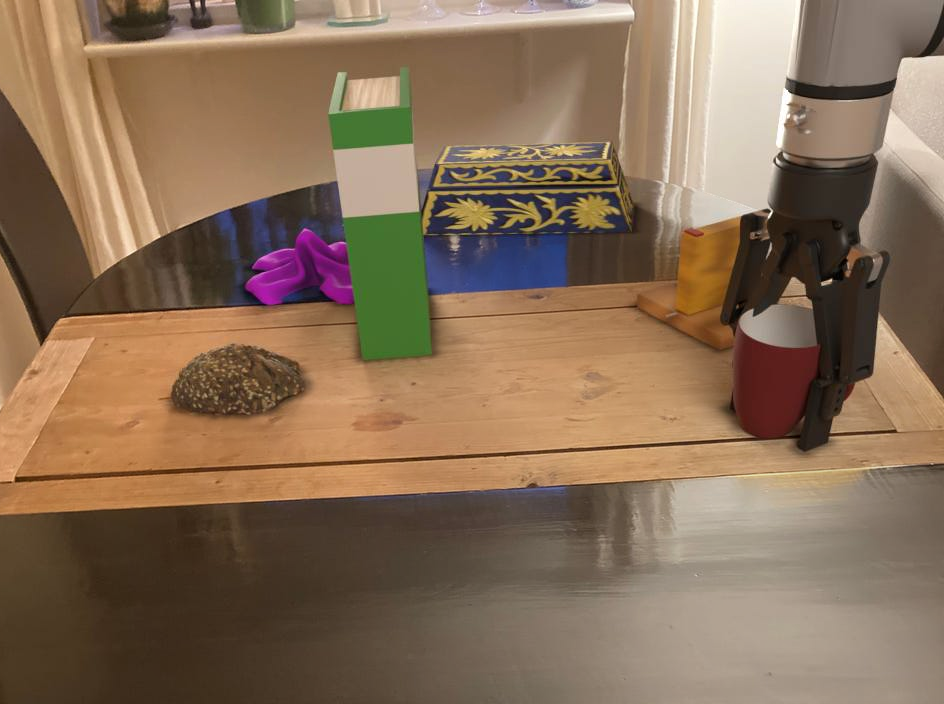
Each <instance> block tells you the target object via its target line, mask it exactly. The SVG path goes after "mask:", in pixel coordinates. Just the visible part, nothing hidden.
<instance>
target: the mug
mask: <svg viewBox="0 0 944 704" xmlns="http://www.w3.org/2000/svg"><path fill="white" fill-rule="evenodd" d="M753 310H754V308H753V309H750V310H748V311H747V312H745V313H744V314H742V315H741V317H740V318H739V321H738V325H737V329H736V334H735V340H734V346H732V360H733V368H732V390H733V401H734V407H735V410H736V412H735V413H736V416H737V419H738V421H739V423H740V426H741V428H742V430H743V431H744V433H746V434H748V435H750V436H751V437H754V438H758V439H765V440H773V439H780V438H784V437H786V436H788V435H789V434H790V433H791V432H792V431H793V429H795V427H797V425H798V424H799V423H800V422H801V421H802V420H804V417H805V413H806V408H807V403H808V398H809V393H810V388H811V383H812V380H813V379H816V378H819V377H821V372H820V364H819V356H818V355H819V351H820V345H817V340H816V332H815V324H814V316H813V308H810V307H806V306H802V305H795V304H785V303H783V304H779V303H777V304H773V305H771V306H770V307H769V308H768V309H766V310H765V311H764V312H762V313H761V314H759V315H757V316H755V317H752V316H753ZM836 366H838V364H837V365H836ZM855 386H856V383H853V384H851V385H848V386H847V388H846V393H845V397H844V402H846V401H847V400H848V398H849V397H850V396H851V394H852V393H853V391H854V389H855Z"/></svg>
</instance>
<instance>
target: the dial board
mask: <svg viewBox="0 0 944 704" xmlns="http://www.w3.org/2000/svg"><path fill="white" fill-rule="evenodd" d="M676 291H677V281H675V282H672V283H668V284H664V285H662V286H658V287H656V288H652V289H649V290H645V291H642V292H638V293H637V300H636V308H638V309H640V310H641V311H644V313H647V314H649V315H651V316H653V317H655V318H657V319H659V320H660V321H662V322H665V323H666V324H668V325H670V326H672V327H674V328H676V329H678V330H680V331H681V332H684V333H685V334H688V335H690V336H692V337H693V338H695V339H697V340H699V341H702V342H703V343H704V344H707V345H709V346H710V347H712V348H714V349H716V350H718V351H722V350H725V349H728V348H731V347H732V348H733V346H734V340H735V338H734V336H733V330H732V328H731V327H730V326H729V325H727V326H724V325H722V323H721V321H720V315H721V311H722V307H723V304H722V305H719V306H716V307H712V308H709V309H706V310H703V311H700V312H696V313H693V314H690V315H687V314H685V313H683V312H681V311H679V310H677V309H675V303H676ZM736 308H738V305H737V307H736Z"/></svg>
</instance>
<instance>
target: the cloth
mask: <svg viewBox="0 0 944 704" xmlns="http://www.w3.org/2000/svg"><path fill="white" fill-rule="evenodd" d="M251 269H252V270H259V271H264V272H261V273H259V274H255V275H254V276H253V277H251V278H250V279H249V280H248V281H246V284H245V287H244V289H245V290H246V291H247V292H249V293H250V294H252V295H253V296H254V297H255V298H257V299H258V300H259V301H260V302H261V303H262V304H265V305H267V306H274V305H278V304H283V302H282V299H283V298H285V297H286V296H289V295H291V294H293V293H295V292H298V291H301V290H303V289H305V288H309V287H311V286H317V287H318V288H319V292H320V293H323V294H324V296H326V297H327V298H328V299H330V300H332V301H335V302H336V303H337V304H339V305H352V304H353V303H355V302H354V295H353V288H352V281H351V274H350V266H349V259H348V252H347V245H346V242H344V241H339V242H334V243H332V244H330V245H328V243H326V242H325V241H324V240H323V239H322V238H320V237H319V236H317V234H315V233H314V232H313V231H312V230H309V229H307V228H304V229H303V230H302V231H300V233H299V234H298V236H297V237H296V239H295V247H294V248H283V249H279V250H276V251H273V252H271V253H268V254H266V255H264V256H262V257H260V258H259V259H257V261H256V262H255V263H254V265H253V266H252V268H251Z"/></svg>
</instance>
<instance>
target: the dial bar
mask: <svg viewBox="0 0 944 704" xmlns="http://www.w3.org/2000/svg"><path fill="white" fill-rule="evenodd" d="M741 217H742V215H740V216H736V217H735V216H734V217H731V218H728V219H724V220H721V221H717V222H714V223H709V224H707V225H703V226H700V227H696V228H693V227H689V228H685V229H683V231H682V232H681V235H680V236H681V237H680V246H679V247H680V248H679V257H678V258H679V259H678V260H679V261H678V271H677V272H678V273H677V281H676V282H677V291H676V303H675V309H677V310H679V311H681V312H683V313H685V314H687V315H690V314H693V313H696V312H700V311H703V310H706V309H709V308H712V307H716V306H719V305H722V304H723V303H724V300H725V296H726V292H727V288H728V285H729V281H730V277H731V273H732V270H733V266H734V262H735V258H736V255H737V251H738V247H739V243H740V219H741Z"/></svg>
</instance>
